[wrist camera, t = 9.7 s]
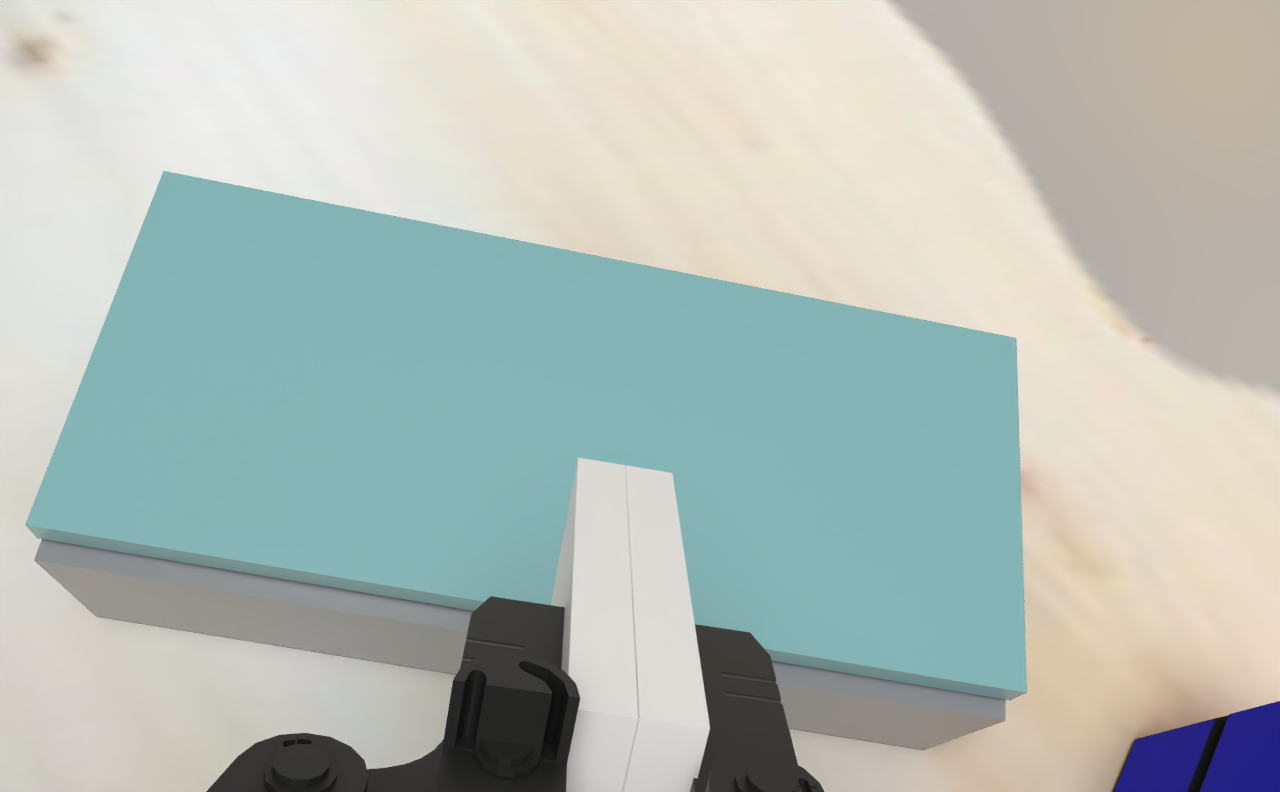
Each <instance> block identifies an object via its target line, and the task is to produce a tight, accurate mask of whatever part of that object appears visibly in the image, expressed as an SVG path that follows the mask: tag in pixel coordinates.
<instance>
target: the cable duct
mask: <svg viewBox="0 0 1280 792" xmlns="http://www.w3.org/2000/svg"><path fill="white" fill-rule="evenodd" d="M34 561H36V562H37V563H38V564H39V565H40V566H41V567H42V568H43V569H44V570H46V571H47V572H48V573H49V574H50V575H51V576H52V577H53V578H54V579H55V580H57V581H58V582H59V583H60V584H61V585H62V586H63V587H64V588H65V589H67V590H68V591H69V592H70V593H71V594H72V595H73V596H74V597H75V598H77V599H78V600H79V601H80V602H81V603H82V604H83V605H84V606H85V607H87V608H88V609H89V610H90V611H91V612H92V613H93V614H94V615H95V616H97V617H103V618H109V619H115V620H121V621H128V622H134V623H140V624H146V625H152V626H159V627H165V628H171V629H177V630H183V631H190V632H196V633H202V634H208V635H214V636H220V637H227V638H233V639H239V640H245V641H251V642H258V643H264V644H270V645H276V646H282V647H289V648H295V649H301V650H307V651H313V652H319V653H326V654H332V655H338V656H344V657H350V658H357V659H363V660H369V661H375V662H381V663H388V664H394V665H400V666H406V667H412V668H419V669H425V670H431V671H437V672H443V673H449V674H456V675H457V673H458V671H459V669H460V667H461V662H462V657H463V652H464V647H465V642H466V637H467V632H468V627H469V622H470V617H471V614H472V613H473V612H474V611H472V610H466V609H460V608H454V607H448V606H442V605H436V604H430V603H424V602H418V601H412V600H406V599H400V598H394V597H388V596H382V595H376V594H370V593H364V592H358V591H352V590H346V589H340V588H334V587H328V586H322V585H316V584H310V583H304V582H298V581H292V580H286V579H280V578H274V577H268V576H262V575H256V574H250V573H244V572H238V571H232V570H226V569H220V568H214V567H208V566H202V565H196V564H190V563H184V562H178V561H172V560H166V559H160V558H154V557H148V556H142V555H136V554H130V553H124V552H118V551H112V550H106V549H100V548H94V547H88V546H82V545H76V544H70V543H64V542H58V541H52V540H46V539H42V541H41V543H40V546H39V549H38V551H37V554H36V557H35V560H34ZM771 661H772V660H771ZM772 664H773V668H774V672H775V676H776V684H778V688H779V692H780V696H781V704H783V708H784V712H785V716H786V720H787V724H788V728H790V729H796V730H802V731H808V732H815V733H821V734H827V735H833V736H839V737H845V738H852V739H858V740H864V741H870V742H876V743H883V744H889V745H895V746H901V747H907V748H914V749H920V750H925V749H927V748H930V747H933V746H936V745H938V744H941V743H944V742H947V741H950V740H952V739H955V738H958V737H961V736H964V735H966V734H969V733H972V732H975V731H978V730H980V729H983V728H986V727H989V726H992V725H994V724H997V723H1000V722H1003V721H1005V699H1000V698H994V697H988V696H982V695H976V694H970V693H964V692H958V691H952V690H946V689H940V688H934V687H928V686H922V685H916V684H910V683H904V682H898V681H892V680H886V679H880V678H874V677H868V676H862V675H856V674H850V673H844V672H838V671H832V670H826V669H820V668H814V667H808V666H802V665H796V664H790V663H784V662H778V661H772Z"/></svg>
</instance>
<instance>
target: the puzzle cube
mask: <svg viewBox="0 0 1280 792" xmlns="http://www.w3.org/2000/svg"><path fill="white" fill-rule="evenodd" d="M1114 792H1280V701H1278V702H1274V703H1271V704H1267V705H1263V706H1259V707H1256V708H1252V709H1248V710H1244V711H1240V712H1237V713H1233V714H1229V716H1224V717H1220V718H1215V719H1211V720H1208V721H1204V722H1200V723H1196V724H1192V725H1189V726H1185V727H1181V728H1177V729H1173V730H1170V731H1166V732H1162V733H1158V734H1154V735H1151V736H1147V737H1143V738H1139V739H1136V740H1135V743H1134V745H1133V747H1132V750H1131V752H1130V755H1129V757H1128V759H1127V762H1126V764H1125V767H1124V769H1123V772H1122V774H1121V776H1120V779H1119V781H1118V784H1117V786H1116V788H1115V791H1114Z"/></svg>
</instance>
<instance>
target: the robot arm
mask: <svg viewBox="0 0 1280 792" xmlns="http://www.w3.org/2000/svg"><path fill="white" fill-rule="evenodd" d="M207 792H824V790H823V789H822V787H821V785H820V783H819V782H818V781H817V780H816V779H815V778H814V777H813V776H811V775H810V774H809V773H808V772H807V771H806V770H805V769H804V768H802V767H800V766H798V764H797V760H796V756H795V752H794V748H793V744H792V740H791V736H790V732H789V728H788V724H787V720H786V716H785V712H784V708H783V704H781V696H780V692H779V688H778V684H776V676H775V672H774V668H773V664H772V661H771V657H770V655H769V654H768V653H767V651H766V650H765V649H764V648H763V647H762V646H761V644H760V643H759V642H758V641H757V640H756V639H755V638H754V636H753V635H752V634H751V633H750V632H744V631H737V630H731V629H724V628H717V627H711V626H704V625H698V624H695V623H694V616H693V609H692V603H691V596H690V589H689V582H688V575H687V569H686V562H685V555H684V548H683V542H682V535H681V528H680V521H679V514H678V508H677V501H676V494H675V487H674V481H673V474H672V473H670V472H664V471H658V470H652V469H645V468H639V467H633V466H627V465H621V464H615V463H609V462H602V461H596V460H590V459H584V458H578V461H577V466H576V471H575V477H574V482H573V487H572V493H571V498H570V503H569V509H568V514H567V519H566V525H565V530H564V535H563V541H562V546H561V551H560V557H559V562H558V567H557V573H556V578H555V584H554V589H553V594H552V600H551V605H546V604H539V603H533V602H526V601H519V600H513V599H506V598H499V597H493V596H490V597H489V598H488V599H487V600H486V601H485V602H484V603H483V604H482V605H481V606H479V607H478V608H477V609H476V610H475V611H474V612H473V613H472V614H471V617H470V622H469V627H468V632H467V637H466V642H465V647H464V652H463V657H462V662H461V667H460V669H459V671H458V673H457V675H456V676H455V678H454V680H453V685H452V691H451V698H450V704H449V710H448V717H447V723H446V729H445V735H444V740H443V741H442V742H441V743H440V744H439V745H438V746H437V748H436V749H435V750H434V751H432V752H430V753H429V754H427V755H426V756H424V757H423V758H421V759H418V760H415V761H413V762H410V763H407V764H405V765H399V766H394V767H388V768H379V769H368V770H367V769H366V765H365V761H364V760H363V759H362V758H361V757H360V756H359V755H358V754H357V753H356V752H355V750H354V749H353V748H352V747H350V746H348V745H346V744H344V743H342V742H340V741H338V740H335V739H333V738H331V737H327V736H321V735H315V734H308V733H299V734H286V735H278V736H275V737H272V738H269V739H266V740H263V741H261V742H258V743H255V744H254V745H253V746H251V747H250V748H249V749H247V750H246V751H245V752H243V753H242V754H241V755H239V756H238V757H237V758H236V759H235V760H234V762H233V763H232V764H231V765H230V766H229V767H228V768H227V769H226V770H225V772H224V773H223V774H222V775H221V776H220V777H219V778H218V779H217V781H216V782H215V783H214V784H213V785H212V786H211V787H210V788H209V789H208V791H207Z"/></svg>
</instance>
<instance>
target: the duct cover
mask: <svg viewBox="0 0 1280 792" xmlns="http://www.w3.org/2000/svg"><path fill="white" fill-rule="evenodd" d="M578 458H584V459H590V460H596V461H602V462H609V463H615V464H621V465H627V466H633V467H639V468H645V469H652V470H658V471H664V472H670V473H672V474H673V481H674V487H675V494H676V501H677V508H678V514H679V521H680V528H681V535H682V542H683V548H684V555H685V562H686V569H687V575H688V582H689V589H690V596H691V603H692V609H693V616H694V623H695V624H698V625H704V626H711V627H717V628H724V629H731V630H737V631H744V632H750V633H751V634H752V635H753V636H754V638H755V639H756V640H757V641H758V642H759V643H760V644H761V646H762V647H763V648H764V649H765V650H766V651H767V653H768V654H769V655H770V657H771V660H772V661H778V662H784V663H790V664H796V665H802V666H808V667H814V668H820V669H826V670H832V671H838V672H844V673H850V674H856V675H862V676H868V677H874V678H880V679H886V680H892V681H898V682H904V683H910V684H916V685H922V686H928V687H934V688H940V689H946V690H952V691H958V692H964V693H970V694H976V695H982V696H988V697H994V698H1000V699H1006V700H1012V699H1014V698H1016V697H1018V696H1020V695H1023V694H1025V693H1027V685H1026V651H1025V617H1024V583H1023V549H1022V516H1021V482H1020V448H1019V414H1018V380H1017V346H1016V338H1013V337H1008V336H1003V335H998V334H993V333H988V332H983V331H978V330H972V329H967V328H962V327H957V326H952V325H947V324H942V323H937V322H932V321H926V320H921V319H916V318H911V317H906V316H901V315H896V314H891V313H886V312H881V311H875V310H870V309H865V308H860V307H855V306H850V305H845V304H840V303H835V302H829V301H824V300H819V299H814V298H809V297H804V296H799V295H794V294H789V293H784V292H778V291H773V290H768V289H763V288H758V287H753V286H748V285H743V284H738V283H733V282H727V281H722V280H717V279H712V278H707V277H702V276H697V275H692V274H687V273H681V272H676V271H671V270H666V269H661V268H656V267H651V266H646V265H641V264H636V263H630V262H625V261H620V260H615V259H610V258H605V257H600V256H595V255H590V254H585V253H579V252H574V251H569V250H564V249H559V248H554V247H549V246H544V245H539V244H533V243H528V242H523V241H518V240H513V239H508V238H503V237H498V236H493V235H488V234H482V233H477V232H472V231H467V230H462V229H457V228H452V227H447V226H442V225H436V224H431V223H426V222H421V221H416V220H411V219H406V218H401V217H396V216H391V215H385V214H380V213H375V212H370V211H365V210H360V209H355V208H350V207H345V206H340V205H334V204H329V203H324V202H319V201H314V200H309V199H304V198H299V197H294V196H288V195H283V194H278V193H273V192H268V191H263V190H258V189H253V188H248V187H243V186H237V185H232V184H227V183H222V182H217V181H212V180H207V179H202V178H197V177H192V176H186V175H181V174H176V173H171V172H166V171H163V174H162V176H161V179H160V181H159V184H158V187H157V189H156V192H155V194H154V197H153V199H152V202H151V204H150V207H149V210H148V212H147V215H146V217H145V220H144V222H143V225H142V228H141V230H140V233H139V235H138V238H137V240H136V243H135V245H134V248H133V251H132V253H131V256H130V258H129V261H128V263H127V266H126V269H125V271H124V274H123V276H122V279H121V281H120V284H119V286H118V289H117V292H116V294H115V297H114V299H113V302H112V304H111V307H110V310H109V312H108V315H107V317H106V320H105V322H104V325H103V327H102V330H101V333H100V335H99V338H98V340H97V343H96V345H95V348H94V351H93V353H92V356H91V358H90V361H89V363H88V366H87V368H86V371H85V374H84V376H83V379H82V381H81V384H80V386H79V389H78V392H77V394H76V397H75V399H74V402H73V404H72V407H71V409H70V412H69V415H68V417H67V420H66V422H65V425H64V427H63V430H62V433H61V435H60V438H59V440H58V443H57V445H56V448H55V450H54V453H53V456H52V458H51V461H50V463H49V466H48V468H47V471H46V473H45V476H44V479H43V481H42V484H41V486H40V489H39V491H38V494H37V497H36V499H35V502H34V504H33V507H32V509H31V512H30V514H29V517H28V520H27V522H26V526H27V527H28V528H29V529H30V530H31V531H32V533H33V534H34V535H35V536H36V537H37V538H40V539H46V540H52V541H58V542H64V543H70V544H76V545H82V546H88V547H94V548H100V549H106V550H112V551H118V552H124V553H130V554H136V555H142V556H148V557H154V558H160V559H166V560H172V561H178V562H184V563H190V564H196V565H202V566H208V567H214V568H220V569H226V570H232V571H238V572H244V573H250V574H256V575H262V576H268V577H274V578H280V579H286V580H292V581H298V582H304V583H310V584H316V585H322V586H328V587H334V588H340V589H346V590H352V591H358V592H364V593H370V594H376V595H382V596H388V597H394V598H400V599H406V600H412V601H418V602H424V603H430V604H436V605H442V606H448V607H454V608H460V609H466V610H472V611H475V610H476V609H477V608H478V607H479V606H481V605H482V604H483V603H484V602H485V601H486V600H487V599H488V598H489V597H490V596H493V597H499V598H506V599H513V600H519V601H526V602H533V603H539V604H546V605H551V600H552V594H553V589H554V584H555V578H556V573H557V567H558V562H559V557H560V551H561V546H562V541H563V535H564V530H565V525H566V519H567V514H568V509H569V503H570V498H571V493H572V487H573V482H574V477H575V471H576V466H577V461H578Z"/></svg>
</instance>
